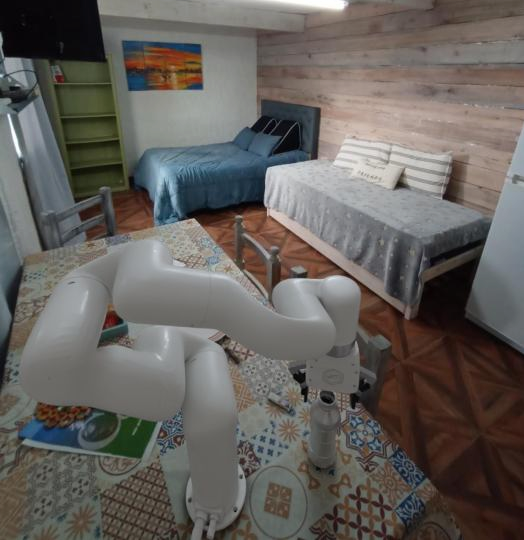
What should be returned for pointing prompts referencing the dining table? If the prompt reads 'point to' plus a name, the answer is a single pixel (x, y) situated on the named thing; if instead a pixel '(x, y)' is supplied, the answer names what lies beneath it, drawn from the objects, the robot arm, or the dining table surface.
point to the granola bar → (280, 401)
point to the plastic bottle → (323, 429)
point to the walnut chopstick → (232, 355)
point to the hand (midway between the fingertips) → (328, 399)
